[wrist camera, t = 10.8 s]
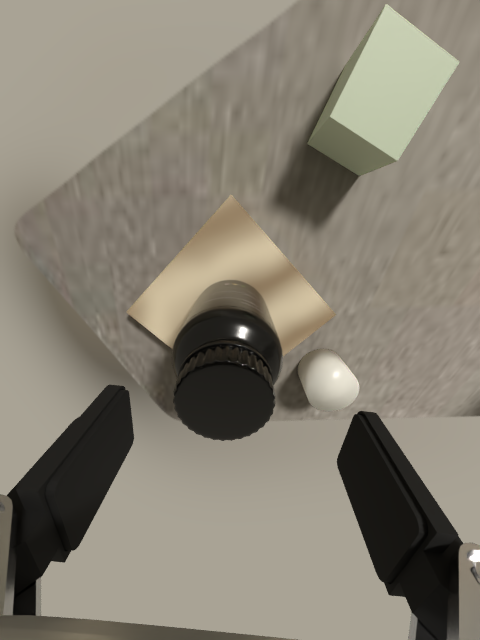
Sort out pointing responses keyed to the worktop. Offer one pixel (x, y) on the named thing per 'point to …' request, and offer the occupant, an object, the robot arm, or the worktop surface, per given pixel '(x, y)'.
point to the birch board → (232, 264)
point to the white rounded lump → (327, 380)
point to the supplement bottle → (226, 363)
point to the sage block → (382, 95)
